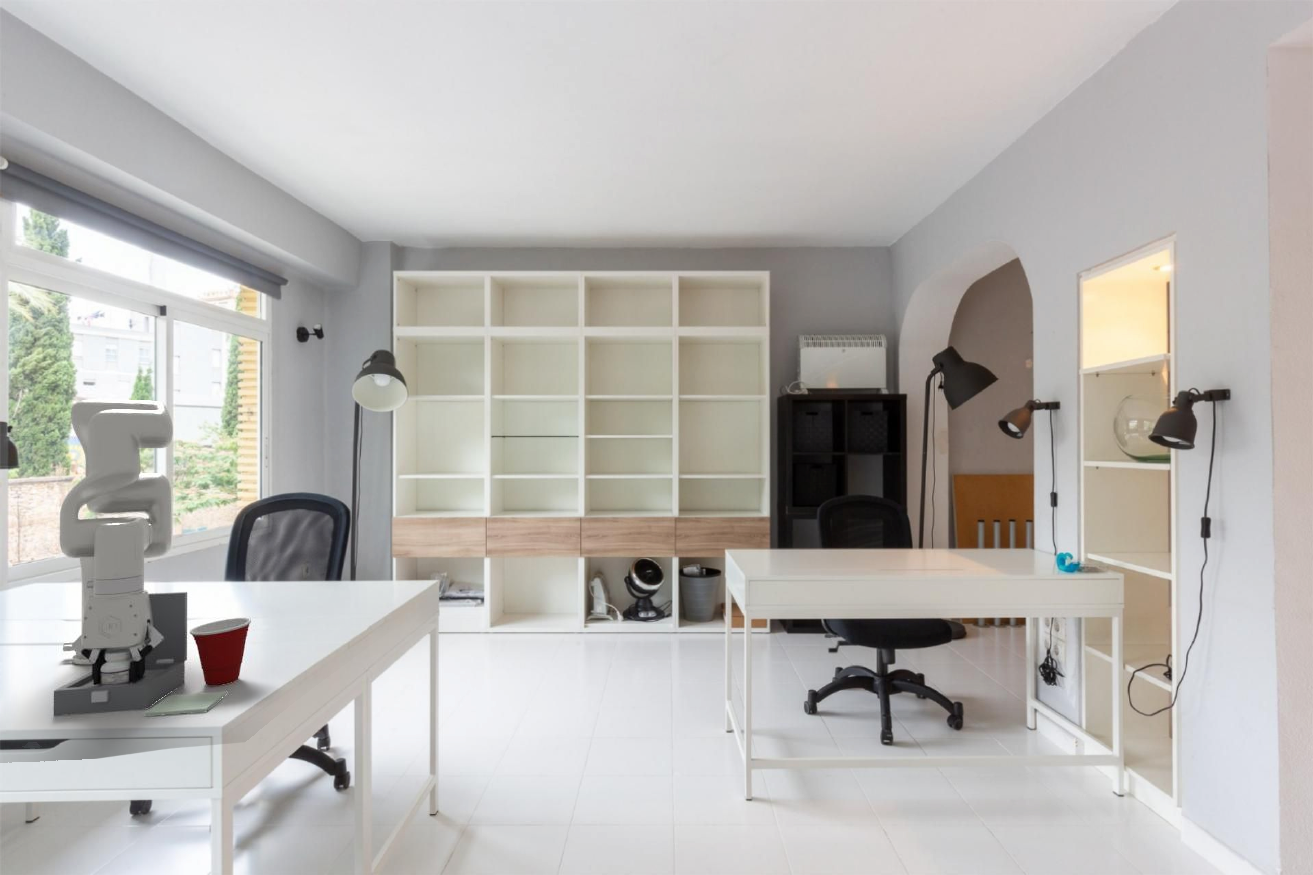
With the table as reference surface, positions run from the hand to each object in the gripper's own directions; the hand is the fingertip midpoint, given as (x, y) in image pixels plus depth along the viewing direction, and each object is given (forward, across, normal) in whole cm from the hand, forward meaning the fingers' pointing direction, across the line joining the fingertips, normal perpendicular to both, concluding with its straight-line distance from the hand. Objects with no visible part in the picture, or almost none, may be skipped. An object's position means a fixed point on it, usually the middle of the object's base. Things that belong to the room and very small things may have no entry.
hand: (118, 680), depth 129 cm
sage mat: (+4, +14, -5) cm, 15 cm away
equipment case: (+4, 0, +2) cm, 4 cm away
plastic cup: (+4, +14, +8) cm, 17 cm away
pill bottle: (+4, 0, 0) cm, 4 cm away
